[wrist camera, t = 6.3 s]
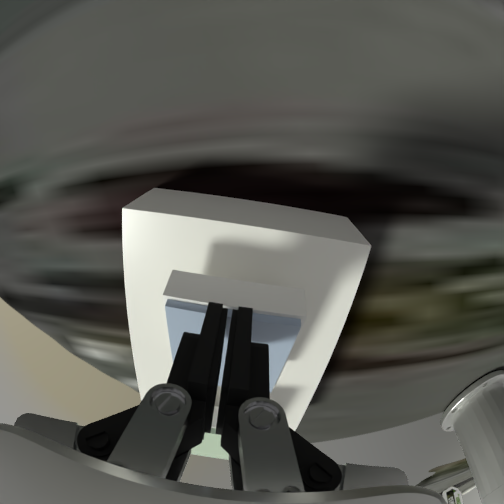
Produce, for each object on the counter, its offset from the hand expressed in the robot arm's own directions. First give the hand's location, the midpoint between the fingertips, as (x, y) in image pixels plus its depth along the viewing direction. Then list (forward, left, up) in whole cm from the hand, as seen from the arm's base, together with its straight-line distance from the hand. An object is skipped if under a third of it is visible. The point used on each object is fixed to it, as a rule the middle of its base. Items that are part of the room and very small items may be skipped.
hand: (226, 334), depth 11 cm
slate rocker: (0, +3, -2) cm, 4 cm away
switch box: (0, +8, -10) cm, 12 cm away
